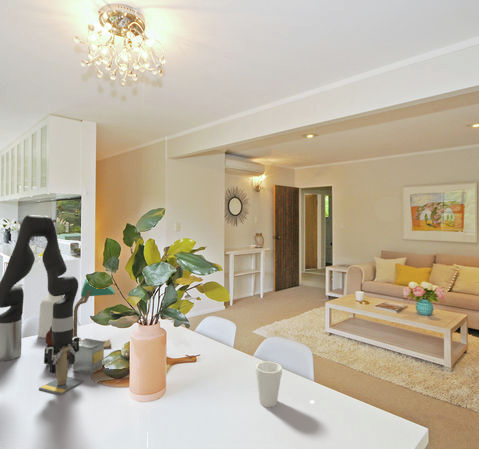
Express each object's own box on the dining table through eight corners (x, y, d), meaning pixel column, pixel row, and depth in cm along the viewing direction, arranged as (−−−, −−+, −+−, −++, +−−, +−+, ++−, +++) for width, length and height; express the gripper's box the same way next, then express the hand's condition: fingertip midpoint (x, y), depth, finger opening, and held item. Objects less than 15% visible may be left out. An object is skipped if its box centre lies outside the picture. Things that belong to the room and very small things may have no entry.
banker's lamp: (69, 345, 168) (70, 278, 168) (112, 339, 177) (113, 275, 177) (67, 356, 154) (68, 283, 154) (114, 350, 163) (115, 280, 162)
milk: (37, 336, 179) (38, 290, 179) (55, 330, 190) (55, 286, 190) (55, 339, 176) (55, 291, 175) (71, 332, 187) (72, 287, 186)
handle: (61, 388, 124) (61, 349, 124) (50, 384, 127) (50, 346, 126) (73, 382, 128) (73, 345, 128) (62, 379, 131) (62, 342, 131)
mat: (39, 389, 124) (39, 387, 124) (63, 376, 134) (63, 375, 134) (60, 395, 120) (60, 393, 120) (83, 381, 131) (84, 379, 131)
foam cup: (259, 411, 112) (260, 374, 112) (251, 397, 121) (252, 362, 121) (285, 407, 115) (285, 371, 115) (275, 394, 124) (276, 360, 124)
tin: (71, 371, 139) (72, 344, 139) (85, 363, 147) (86, 338, 147) (91, 375, 136) (91, 348, 136) (104, 367, 143) (105, 341, 143)
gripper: (70, 321, 135) (69, 359, 135) (39, 332, 122) (38, 375, 122) (84, 323, 133) (83, 362, 133) (54, 334, 119) (53, 378, 119)
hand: (62, 368), depth 127 cm, fingers open, 8 cm apart
